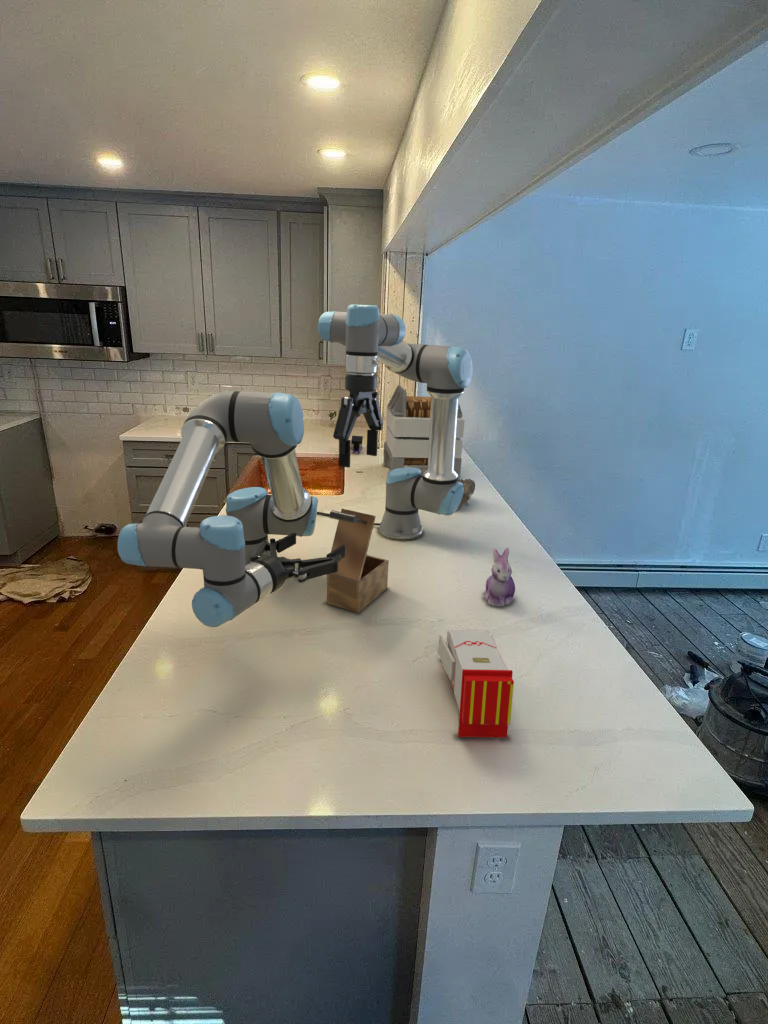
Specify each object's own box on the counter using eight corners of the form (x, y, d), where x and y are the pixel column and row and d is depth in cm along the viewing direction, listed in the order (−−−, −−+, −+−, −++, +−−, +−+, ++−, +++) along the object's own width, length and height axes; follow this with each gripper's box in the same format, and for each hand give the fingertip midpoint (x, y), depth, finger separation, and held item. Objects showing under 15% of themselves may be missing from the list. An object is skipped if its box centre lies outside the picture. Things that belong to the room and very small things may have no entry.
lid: (343, 508, 149) (326, 503, 141) (375, 516, 145) (360, 511, 137) (327, 571, 148) (310, 570, 141) (360, 581, 144) (344, 579, 136)
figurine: (497, 611, 151) (503, 559, 146) (474, 594, 159) (479, 545, 154) (524, 604, 155) (532, 554, 150) (501, 588, 163) (507, 540, 158)
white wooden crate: (382, 463, 289) (386, 382, 275) (445, 464, 293) (451, 384, 279) (390, 482, 257) (394, 392, 243) (460, 483, 261) (468, 394, 247)
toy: (488, 613, 130) (523, 677, 101) (484, 667, 133) (517, 744, 104) (435, 612, 130) (455, 676, 101) (432, 666, 133) (451, 743, 103)
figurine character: (362, 457, 305) (363, 447, 318) (362, 443, 301) (363, 434, 315) (350, 456, 304) (351, 447, 318) (350, 443, 301) (351, 434, 314)
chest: (357, 580, 165) (358, 552, 162) (387, 588, 161) (388, 560, 158) (326, 603, 151) (326, 573, 148) (358, 613, 147) (359, 582, 144)
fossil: (439, 484, 243) (468, 465, 238) (451, 501, 246) (481, 483, 241) (438, 506, 224) (470, 486, 219) (452, 524, 226) (484, 505, 221)
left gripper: (214, 580, 121) (276, 547, 139) (311, 611, 110) (364, 571, 128) (211, 548, 118) (275, 518, 136) (311, 577, 108) (365, 540, 126)
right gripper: (347, 379, 122) (345, 474, 129) (398, 371, 143) (394, 453, 150) (318, 376, 125) (318, 469, 133) (372, 368, 146) (369, 448, 153)
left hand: (318, 544), depth 132 cm, fingers open, 13 cm apart
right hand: (358, 460), depth 141 cm, fingers open, 13 cm apart
